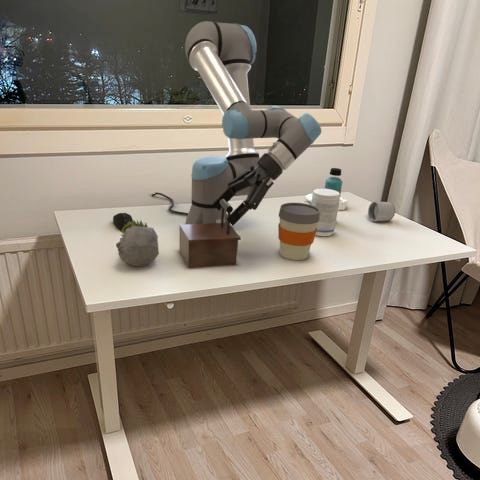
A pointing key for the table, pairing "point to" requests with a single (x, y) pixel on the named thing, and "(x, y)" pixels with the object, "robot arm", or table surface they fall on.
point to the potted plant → (138, 244)
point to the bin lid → (211, 229)
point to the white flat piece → (341, 203)
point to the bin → (207, 252)
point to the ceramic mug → (381, 211)
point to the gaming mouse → (121, 220)
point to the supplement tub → (326, 210)
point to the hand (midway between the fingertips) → (222, 214)
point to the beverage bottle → (334, 180)
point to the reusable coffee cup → (297, 229)
